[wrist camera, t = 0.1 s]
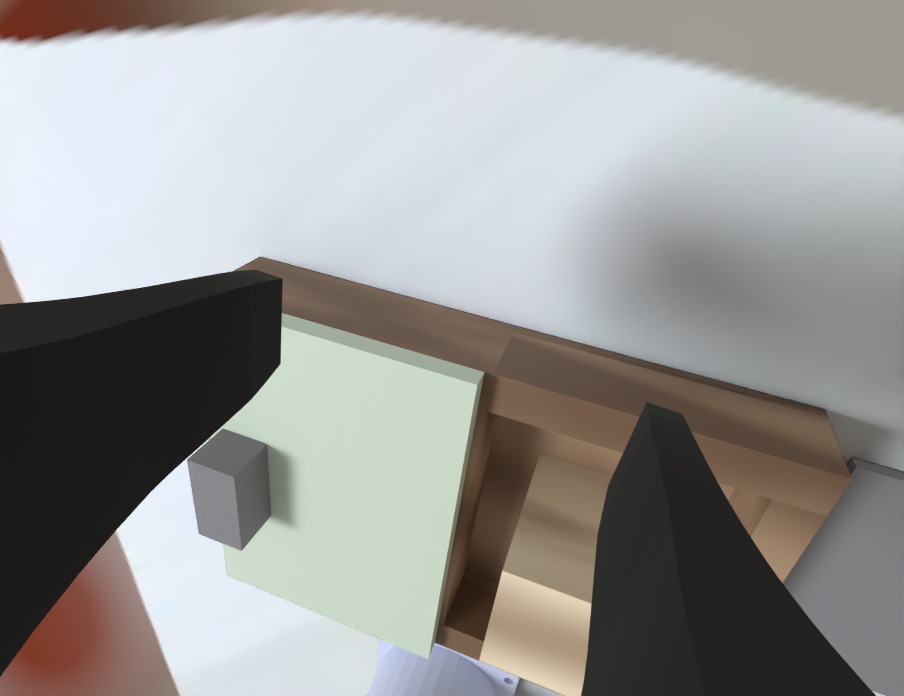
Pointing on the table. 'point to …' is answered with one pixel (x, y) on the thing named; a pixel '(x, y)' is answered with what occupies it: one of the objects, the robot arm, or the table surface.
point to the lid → (344, 481)
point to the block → (549, 579)
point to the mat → (860, 576)
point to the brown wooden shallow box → (580, 430)
